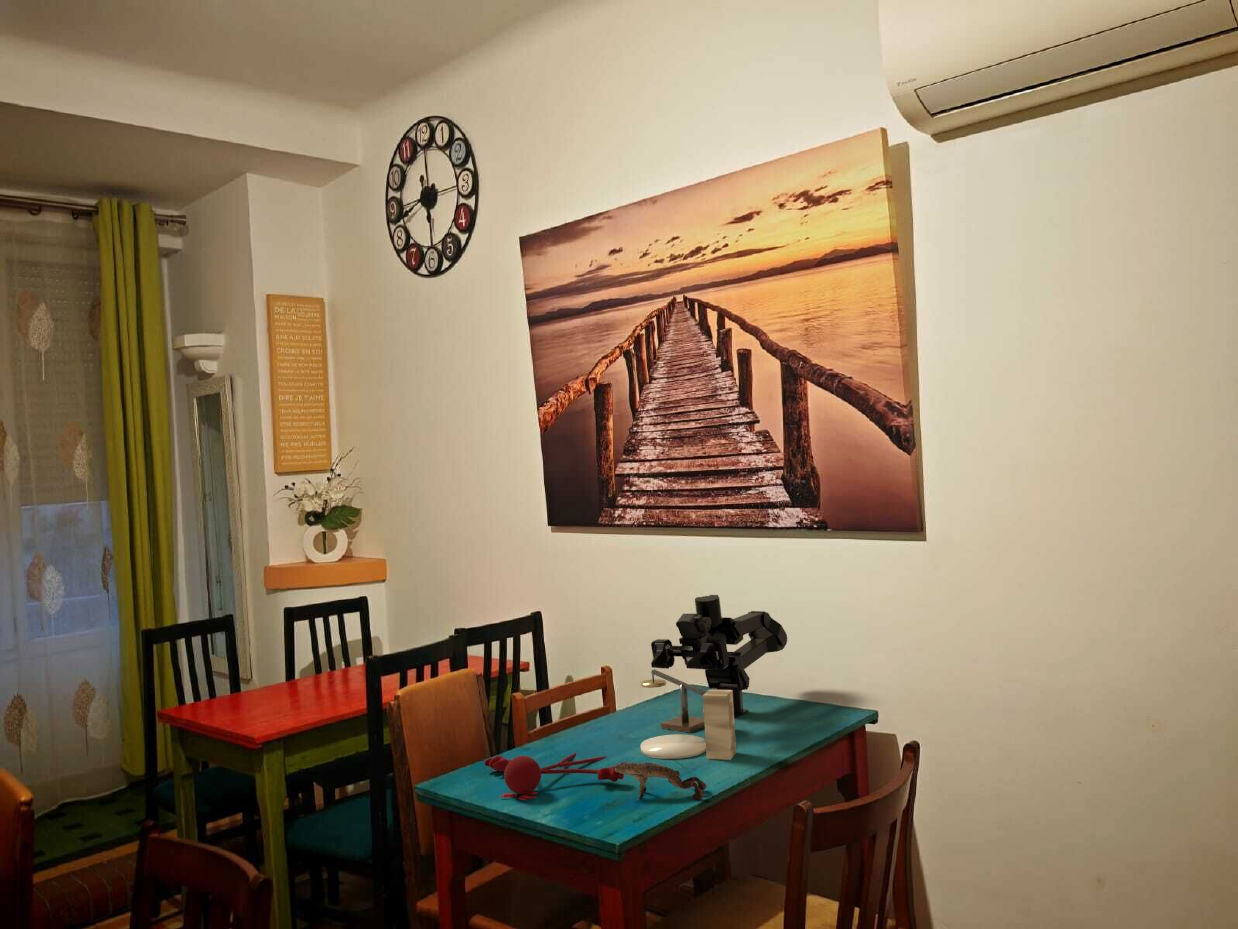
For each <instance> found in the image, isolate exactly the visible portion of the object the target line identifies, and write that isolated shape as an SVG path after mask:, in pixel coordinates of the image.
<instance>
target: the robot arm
mask: <svg viewBox="0 0 1238 929" xmlns="http://www.w3.org/2000/svg"><path fill="white" fill-rule="evenodd" d="M694 603H695V604H694V605H695V606H694V607H695V612H696V613H682V614H681V616H680V617H679V618H678V620H677V621H676V622H675V626H676V628H677V629H678V631H679V634H680V636H681V637H680V638H679V639H678V642H679V644H680V645H673V643H672V640H670V639H667V638H666V639H665V638H663V639H662V638H657V639H655V640H653V641H652V642H651V643H650V646H651V653H652V658H653V659H651V662H650V665H651V668H654V669H668V670H669V669H670V668H672V667H673V666H674V664H675V657H681V658H682V659H683V660H684V665H685V667H686V669H692V670H693V669H694V670H704V673H705V678H706V682H707V685H708V690H733V707H734V718H737V717H740V716H742V715H744V714H746V713H749V712H750V711H749V709H748V708H747V709H746V708H744V705H743V704H744V703H743V691H746V690H749V687H750V677H749V675H748V673H747V672H746V669H747V668H748V667H750V666H751V665H752V664H754V663H755V662H756V661H757V660H759V659H760V658H761V657H763V656H764V655H766V654H768V653H775V652H776V653H777V652H780V651H783V650H785V647H786V645H787V643H788V635H787V632H786V631H785V629H784V627H783V626H782V624H781V623H780V622H778V621H776V620H775V619H774V618H773V617H771V615H770V613H769V612H766V611H765V610H764V611H763V610H762V611H761V610H760V611H759V610H752V611H749V612H747V613H746V614H743V615H740V616H738V617H734V618H733V617H723V615H722V609H721V601H720V596H719V594H709V595H704V596H697V597H695V598H694ZM747 634H748V638H749V639H750V640H749V641H747V642H746V643H744V644H743V645H741V646H740V647H739V648H737V649H735V650H734V651H728V646H727V645H729V646H730V645H731V646H733V645H734V646H737V645H738V644H740V643H742V641H743V640H744V636H745V635H747Z"/></svg>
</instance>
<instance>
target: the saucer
mask: <svg viewBox="0 0 1238 929" xmlns="http://www.w3.org/2000/svg"><path fill="white" fill-rule="evenodd" d="M705 752H706V740H705V739H704V738H703V737H701V736H697V735H692V734H664V735H658V736H654V737H653V736H652V737H650V738H648V739H644V740H643V741H642V742H641V743H640V753H641V754H642V755H643V756H645V757H649V758H652V759H661V760H679V759H685V758H686V759H687V758H691V757H696V756H698V755H701V754H704V753H705Z"/></svg>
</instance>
